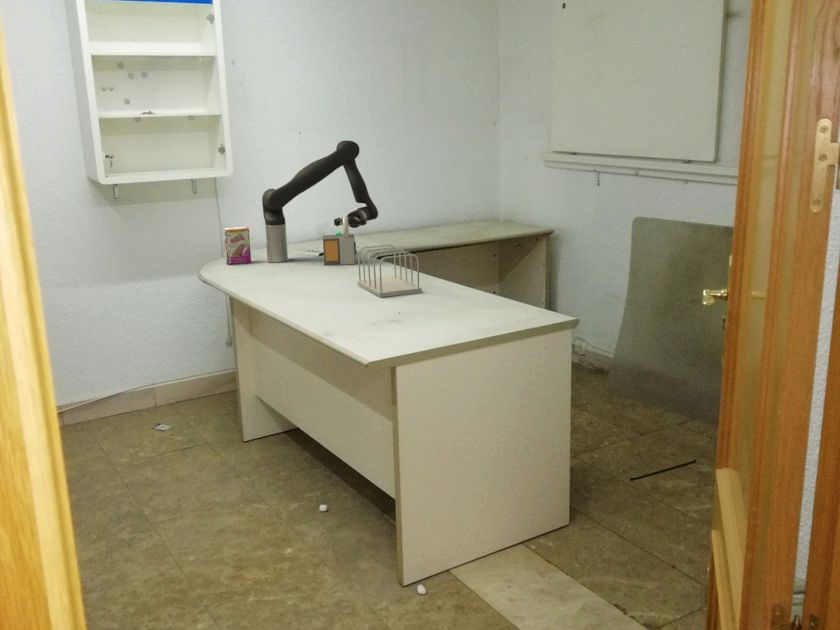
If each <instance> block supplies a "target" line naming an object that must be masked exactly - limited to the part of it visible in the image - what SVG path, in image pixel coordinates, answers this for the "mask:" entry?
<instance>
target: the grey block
mask: <svg viewBox="0 0 840 630" xmlns="http://www.w3.org/2000/svg"><path fill="white" fill-rule="evenodd" d="M349 237H354V238H355V235H354V233H349ZM339 238H344V234H342V235H334V234H327V235H322V242H323V243H322V246H323V261H324V266H337V265H339V266H340V265H341V264H340V244H339ZM356 245H357V244H356V241H354V259H355V260H356V255H357V246H356Z"/></svg>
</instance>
